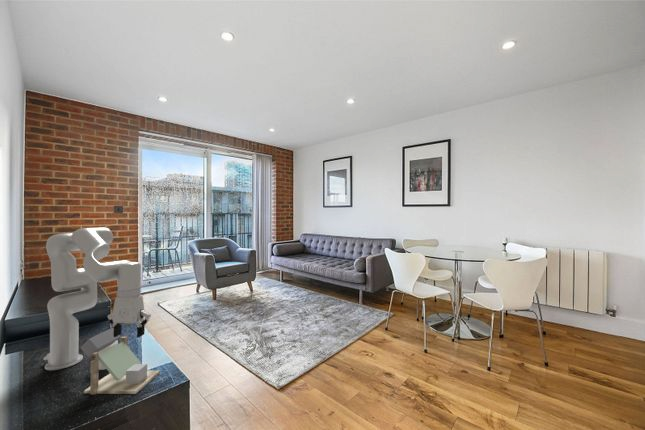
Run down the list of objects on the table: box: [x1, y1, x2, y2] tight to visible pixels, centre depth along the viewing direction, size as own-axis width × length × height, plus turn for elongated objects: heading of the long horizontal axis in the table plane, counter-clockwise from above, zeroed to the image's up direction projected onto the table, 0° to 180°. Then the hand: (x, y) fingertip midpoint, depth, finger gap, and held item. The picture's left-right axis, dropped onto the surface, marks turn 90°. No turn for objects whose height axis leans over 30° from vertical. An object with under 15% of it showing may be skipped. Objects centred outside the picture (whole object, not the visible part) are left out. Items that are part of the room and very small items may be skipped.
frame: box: [83, 336, 161, 395], centre depth 107 cm, size 20×17×15 cm
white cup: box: [99, 339, 119, 371], centre depth 120 cm, size 8×8×10 cm
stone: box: [126, 363, 148, 384], centre depth 107 cm, size 5×5×5 cm
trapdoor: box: [79, 327, 142, 381], centre depth 108 cm, size 19×12×5 cm
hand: (129, 335), depth 108 cm, fingers open, 9 cm apart
